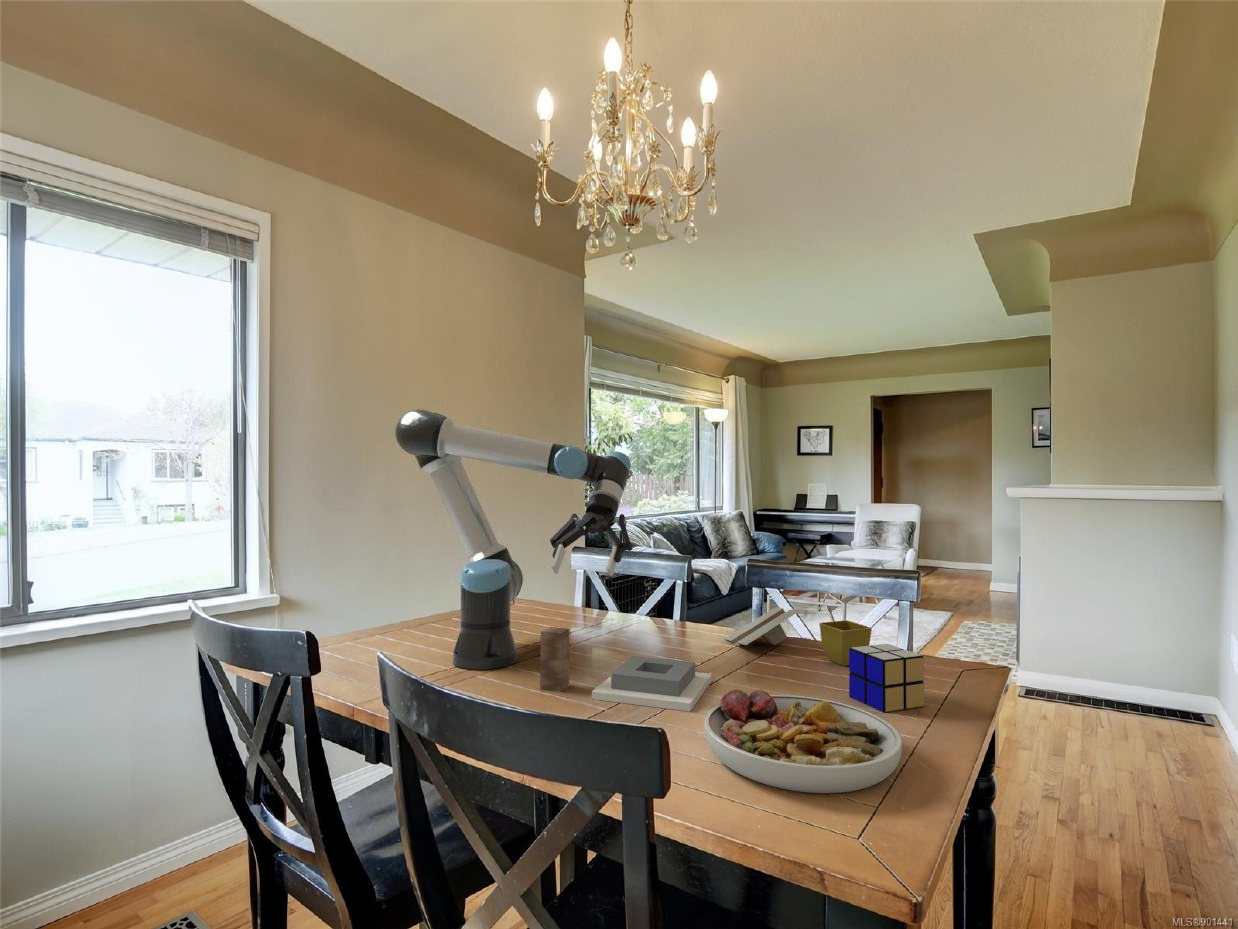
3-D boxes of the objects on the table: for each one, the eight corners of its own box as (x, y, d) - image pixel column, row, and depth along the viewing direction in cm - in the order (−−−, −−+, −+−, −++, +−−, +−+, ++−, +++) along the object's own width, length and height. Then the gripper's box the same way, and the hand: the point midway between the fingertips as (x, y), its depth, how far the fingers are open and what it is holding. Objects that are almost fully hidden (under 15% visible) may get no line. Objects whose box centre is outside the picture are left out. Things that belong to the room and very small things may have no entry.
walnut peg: (540, 689, 137) (540, 631, 137) (549, 683, 141) (550, 626, 141) (560, 692, 135) (560, 633, 136) (569, 685, 140) (569, 628, 140)
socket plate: (591, 699, 131) (591, 676, 131) (625, 671, 150) (625, 651, 150) (690, 711, 124) (690, 687, 124) (711, 680, 143) (711, 660, 143)
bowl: (928, 755, 106) (928, 705, 106) (854, 828, 84) (854, 766, 84) (763, 710, 126) (763, 668, 126) (667, 760, 104) (667, 709, 104)
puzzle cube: (848, 697, 133) (847, 647, 133) (887, 691, 137) (887, 643, 137) (884, 714, 124) (884, 660, 124) (925, 707, 127) (925, 655, 128)
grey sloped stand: (772, 675, 162) (817, 627, 166) (745, 645, 163) (791, 597, 167) (747, 666, 181) (789, 622, 184) (723, 638, 181) (765, 596, 185)
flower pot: (872, 666, 155) (872, 627, 155) (843, 669, 152) (843, 630, 152) (847, 656, 163) (847, 620, 163) (818, 659, 160) (818, 622, 160)
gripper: (655, 513, 163) (637, 583, 148) (563, 512, 171) (537, 578, 157) (649, 492, 158) (629, 562, 144) (554, 492, 166) (526, 559, 152)
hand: (581, 571), depth 150 cm, fingers open, 13 cm apart
